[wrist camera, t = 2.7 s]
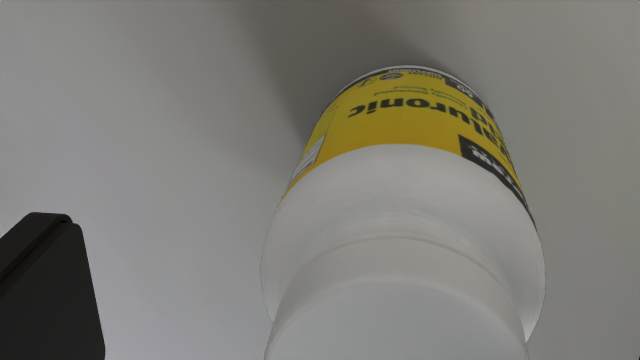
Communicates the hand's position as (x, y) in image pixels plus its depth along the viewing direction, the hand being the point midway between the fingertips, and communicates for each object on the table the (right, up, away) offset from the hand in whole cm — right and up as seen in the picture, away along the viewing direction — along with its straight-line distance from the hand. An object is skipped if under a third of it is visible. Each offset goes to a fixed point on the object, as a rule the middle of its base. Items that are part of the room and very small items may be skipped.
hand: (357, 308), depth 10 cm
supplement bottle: (+2, +3, +8) cm, 9 cm away
